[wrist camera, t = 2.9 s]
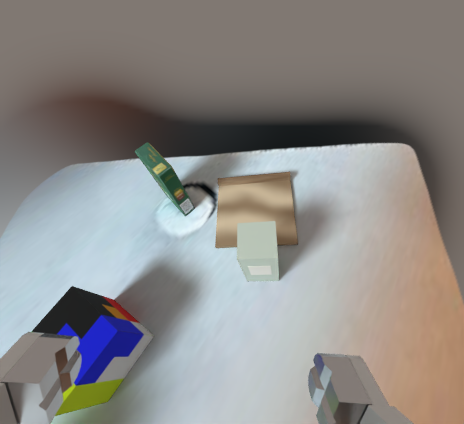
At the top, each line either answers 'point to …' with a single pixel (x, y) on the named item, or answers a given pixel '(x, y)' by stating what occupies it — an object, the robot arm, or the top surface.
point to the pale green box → (258, 251)
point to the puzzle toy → (96, 344)
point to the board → (255, 206)
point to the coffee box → (165, 177)
